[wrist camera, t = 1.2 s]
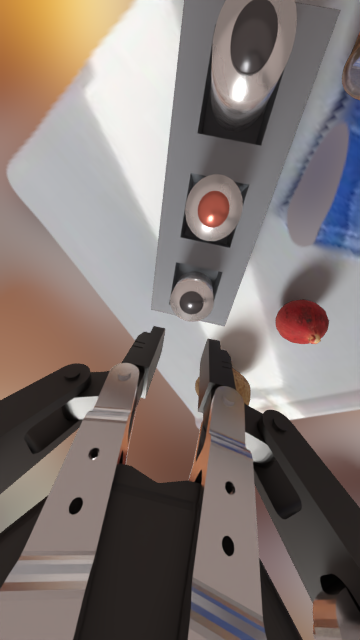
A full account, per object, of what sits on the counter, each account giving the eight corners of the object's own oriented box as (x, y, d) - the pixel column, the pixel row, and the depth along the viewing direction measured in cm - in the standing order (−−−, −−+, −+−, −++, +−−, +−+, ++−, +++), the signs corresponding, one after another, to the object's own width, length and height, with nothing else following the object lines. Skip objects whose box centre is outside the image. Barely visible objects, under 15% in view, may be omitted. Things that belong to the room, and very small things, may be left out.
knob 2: (283, 48, 12) (317, -32, 8) (257, 136, 14) (275, 104, 10) (220, 37, 12) (226, -47, 8) (204, 125, 14) (203, 91, 11)
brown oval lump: (254, 374, 34) (271, 426, 25) (217, 391, 38) (220, 442, 29) (226, 344, 31) (234, 389, 23) (189, 365, 35) (184, 412, 26)
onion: (267, 296, 26) (290, 322, 19) (311, 288, 25) (351, 313, 18) (269, 328, 29) (289, 362, 22) (308, 323, 27) (343, 356, 20)
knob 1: (217, 275, 20) (219, 287, 16) (207, 309, 22) (207, 326, 18) (179, 267, 20) (173, 277, 16) (173, 302, 22) (166, 317, 18)
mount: (297, 78, 16) (340, 9, 11) (221, 307, 28) (224, 326, 23) (192, 59, 17) (186, -17, 11) (161, 293, 28) (150, 309, 23)
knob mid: (241, 190, 16) (252, 179, 12) (226, 241, 18) (232, 246, 14) (194, 180, 16) (191, 167, 12) (185, 233, 18) (180, 235, 15)
